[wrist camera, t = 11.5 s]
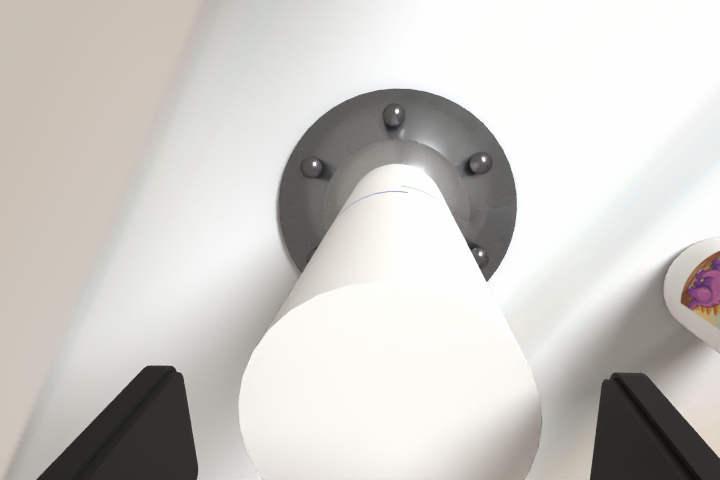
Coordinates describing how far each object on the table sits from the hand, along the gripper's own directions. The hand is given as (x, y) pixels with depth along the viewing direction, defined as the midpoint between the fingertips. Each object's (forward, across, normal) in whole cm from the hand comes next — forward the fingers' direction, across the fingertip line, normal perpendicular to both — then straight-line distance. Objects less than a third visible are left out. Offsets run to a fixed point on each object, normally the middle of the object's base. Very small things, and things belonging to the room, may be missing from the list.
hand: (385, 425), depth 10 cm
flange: (+27, 0, +1) cm, 27 cm away
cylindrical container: (+26, 0, +1) cm, 26 cm away
